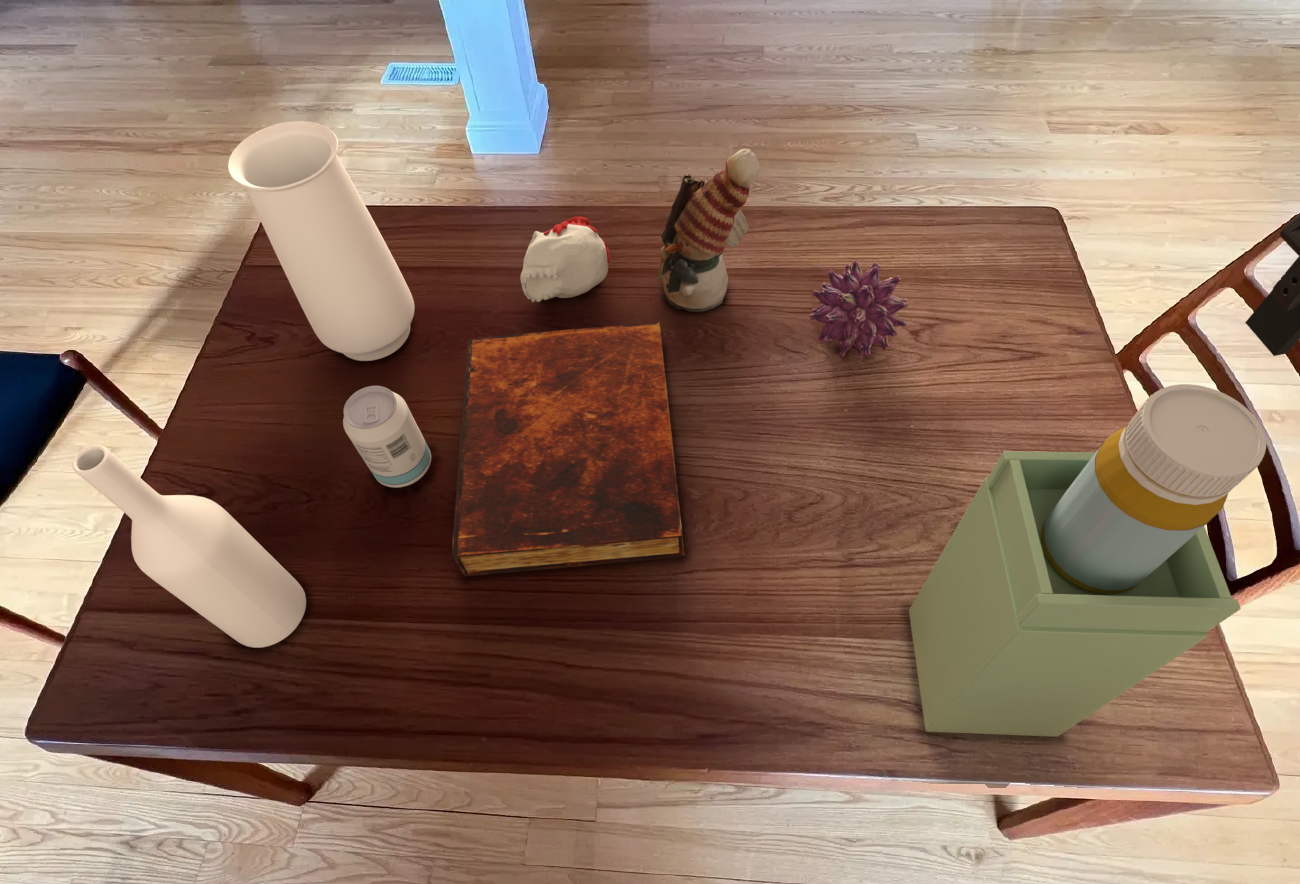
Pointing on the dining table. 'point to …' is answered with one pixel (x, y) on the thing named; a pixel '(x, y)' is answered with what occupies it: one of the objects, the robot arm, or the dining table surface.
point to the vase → (325, 239)
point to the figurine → (705, 234)
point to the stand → (1045, 614)
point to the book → (565, 452)
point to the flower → (858, 309)
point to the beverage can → (386, 436)
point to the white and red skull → (564, 261)
